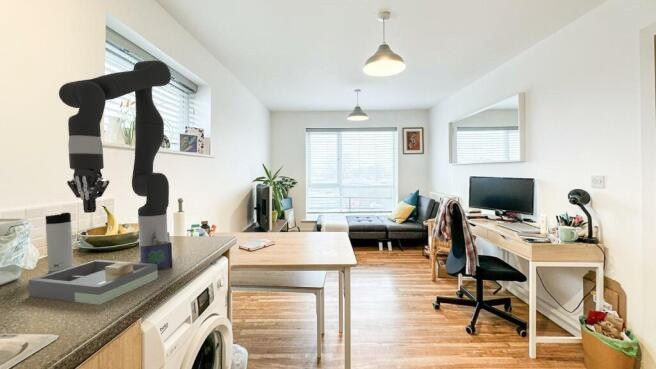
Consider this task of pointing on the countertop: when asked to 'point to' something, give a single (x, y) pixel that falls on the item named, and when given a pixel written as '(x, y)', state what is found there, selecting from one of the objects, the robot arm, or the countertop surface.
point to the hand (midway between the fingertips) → (89, 212)
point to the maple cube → (118, 270)
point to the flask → (157, 254)
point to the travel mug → (59, 242)
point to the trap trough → (90, 282)
